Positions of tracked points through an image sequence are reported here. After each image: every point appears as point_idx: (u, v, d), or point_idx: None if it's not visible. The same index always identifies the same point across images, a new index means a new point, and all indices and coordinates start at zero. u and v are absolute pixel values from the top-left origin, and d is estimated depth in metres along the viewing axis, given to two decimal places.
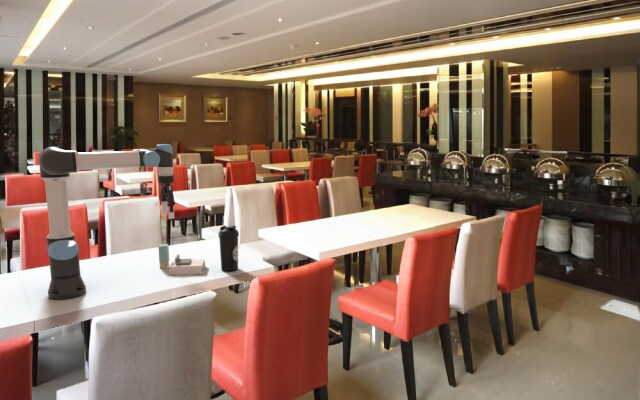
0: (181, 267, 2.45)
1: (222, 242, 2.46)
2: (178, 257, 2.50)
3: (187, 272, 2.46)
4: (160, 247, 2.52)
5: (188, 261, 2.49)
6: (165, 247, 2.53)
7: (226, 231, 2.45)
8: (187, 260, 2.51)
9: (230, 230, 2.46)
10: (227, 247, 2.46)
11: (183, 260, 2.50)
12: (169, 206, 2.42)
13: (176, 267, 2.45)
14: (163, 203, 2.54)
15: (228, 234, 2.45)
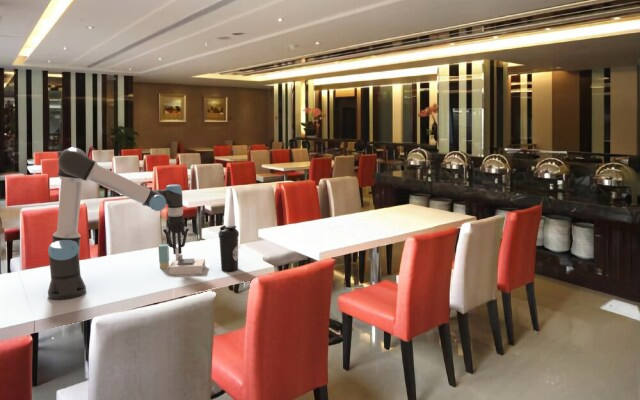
0: (181, 267, 2.45)
1: (222, 242, 2.46)
2: (181, 257, 2.50)
3: (187, 272, 2.46)
4: (160, 247, 2.52)
5: (191, 261, 2.49)
6: (165, 247, 2.53)
7: (226, 231, 2.45)
8: (190, 260, 2.51)
9: (230, 230, 2.46)
10: (227, 247, 2.46)
11: (186, 260, 2.50)
12: None
13: (176, 267, 2.45)
14: None
15: (228, 234, 2.45)
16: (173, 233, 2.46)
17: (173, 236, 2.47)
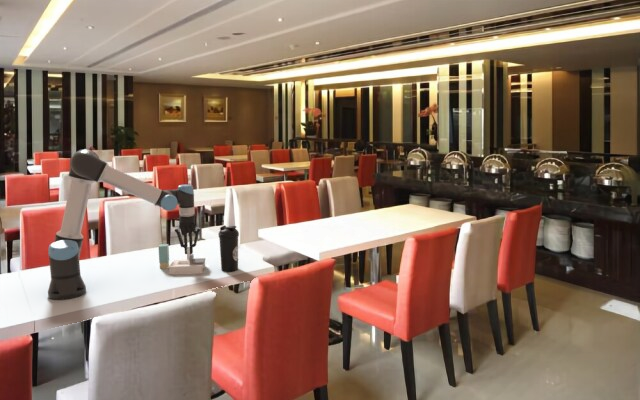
0: (181, 267, 2.45)
1: (222, 242, 2.46)
2: (192, 257, 2.51)
3: (187, 272, 2.46)
4: (160, 247, 2.52)
5: (202, 261, 2.50)
6: (165, 247, 2.53)
7: (226, 231, 2.45)
8: (201, 260, 2.52)
9: (230, 230, 2.46)
10: (227, 247, 2.46)
11: (197, 260, 2.51)
12: None
13: (176, 267, 2.45)
14: None
15: (228, 234, 2.45)
16: (185, 233, 2.46)
17: (184, 236, 2.47)
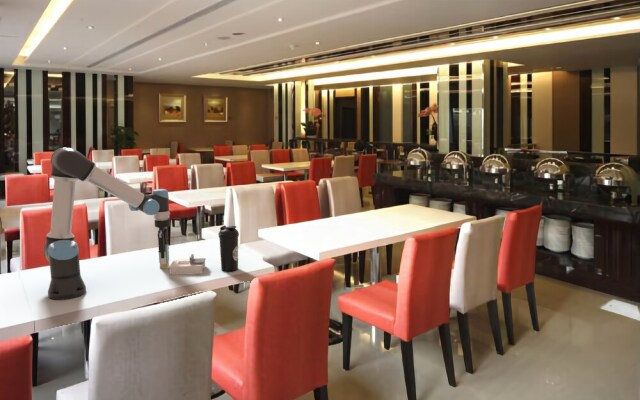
0: (181, 267, 2.45)
1: (222, 242, 2.46)
2: (192, 257, 2.51)
3: (187, 272, 2.46)
4: None
5: (202, 261, 2.50)
6: (165, 247, 2.53)
7: (226, 231, 2.45)
8: (201, 260, 2.52)
9: (230, 230, 2.46)
10: (227, 247, 2.46)
11: (197, 260, 2.51)
12: (161, 252, 2.52)
13: (176, 267, 2.45)
14: None
15: (228, 234, 2.45)
16: (165, 236, 2.52)
17: (164, 239, 2.52)
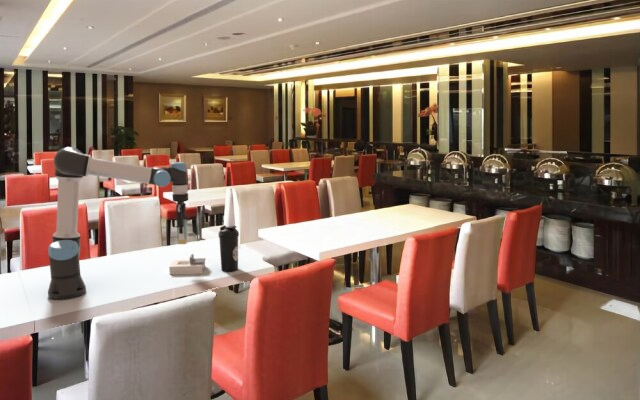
0: (181, 267, 2.45)
1: (222, 242, 2.46)
2: (192, 257, 2.51)
3: (187, 272, 2.46)
4: None
5: (202, 261, 2.50)
6: (183, 222, 2.45)
7: (226, 231, 2.45)
8: (201, 260, 2.52)
9: (230, 230, 2.46)
10: (227, 247, 2.46)
11: (197, 260, 2.51)
12: None
13: (176, 267, 2.45)
14: None
15: (228, 234, 2.45)
16: (184, 211, 2.44)
17: (183, 214, 2.44)
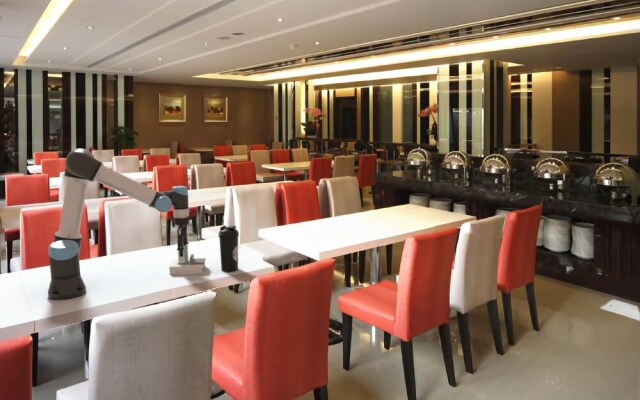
0: (181, 267, 2.45)
1: (222, 242, 2.46)
2: (192, 257, 2.51)
3: (187, 272, 2.46)
4: None
5: (202, 261, 2.50)
6: (185, 248, 2.47)
7: (226, 231, 2.45)
8: (201, 260, 2.52)
9: (230, 230, 2.46)
10: (227, 247, 2.46)
11: (197, 260, 2.51)
12: None
13: (176, 267, 2.45)
14: None
15: (228, 234, 2.45)
16: (184, 234, 2.46)
17: (183, 237, 2.45)
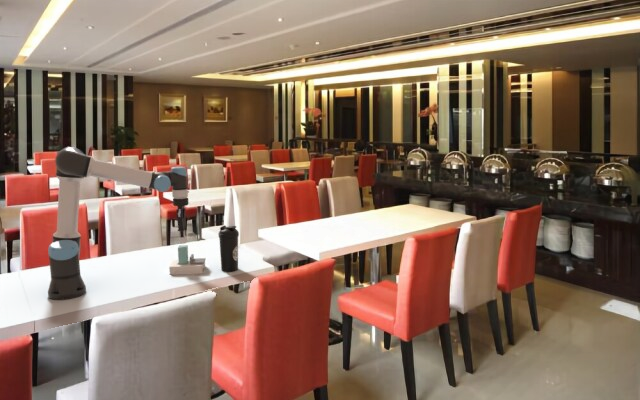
0: (181, 267, 2.45)
1: (222, 242, 2.46)
2: (192, 257, 2.51)
3: (187, 272, 2.46)
4: (179, 248, 2.47)
5: (202, 261, 2.50)
6: (185, 248, 2.47)
7: (226, 231, 2.45)
8: (201, 260, 2.52)
9: (230, 230, 2.46)
10: (227, 247, 2.46)
11: (197, 260, 2.51)
12: None
13: (176, 267, 2.45)
14: None
15: (228, 234, 2.45)
16: (184, 215, 2.45)
17: (183, 218, 2.45)
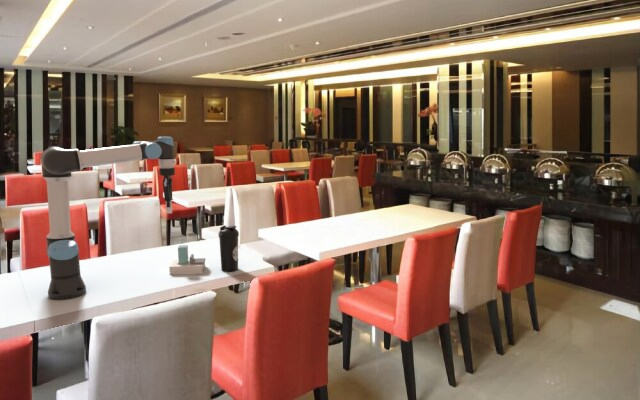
0: (181, 267, 2.45)
1: (222, 242, 2.46)
2: (192, 257, 2.51)
3: (187, 272, 2.46)
4: (179, 248, 2.47)
5: (202, 261, 2.50)
6: (185, 248, 2.47)
7: (226, 231, 2.45)
8: (201, 260, 2.52)
9: (230, 230, 2.46)
10: (227, 247, 2.46)
11: (197, 260, 2.51)
12: (166, 201, 2.48)
13: (176, 267, 2.45)
14: None
15: (228, 234, 2.45)
16: (170, 185, 2.47)
17: (169, 188, 2.47)
